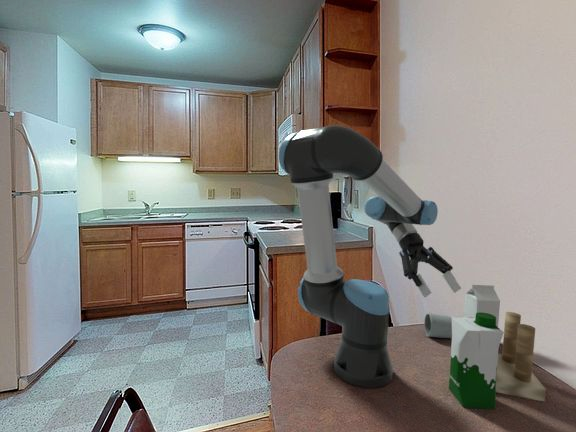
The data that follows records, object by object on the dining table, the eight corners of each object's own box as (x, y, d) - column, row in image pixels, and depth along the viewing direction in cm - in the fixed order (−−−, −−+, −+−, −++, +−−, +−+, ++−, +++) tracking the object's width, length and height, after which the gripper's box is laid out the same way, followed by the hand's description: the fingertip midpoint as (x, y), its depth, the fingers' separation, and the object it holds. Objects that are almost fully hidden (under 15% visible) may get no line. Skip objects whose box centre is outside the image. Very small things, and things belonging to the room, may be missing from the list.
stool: (467, 386, 79) (472, 324, 78) (455, 356, 94) (459, 303, 93) (544, 401, 74) (550, 335, 73) (518, 367, 89) (523, 311, 88)
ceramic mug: (456, 342, 103) (457, 319, 103) (429, 340, 104) (431, 317, 104) (444, 329, 114) (445, 308, 114) (420, 327, 115) (421, 307, 115)
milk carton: (496, 346, 101) (501, 288, 100) (474, 346, 101) (478, 287, 100) (483, 337, 108) (487, 282, 107) (462, 336, 108) (466, 281, 107)
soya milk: (502, 412, 70) (509, 323, 68) (460, 410, 70) (466, 321, 69) (479, 388, 78) (485, 309, 77) (442, 386, 79) (447, 307, 77)
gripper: (426, 243, 118) (461, 294, 106) (374, 245, 107) (406, 303, 95) (439, 230, 113) (477, 283, 101) (387, 232, 102) (422, 290, 90)
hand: (443, 293), depth 98 cm, fingers open, 13 cm apart
